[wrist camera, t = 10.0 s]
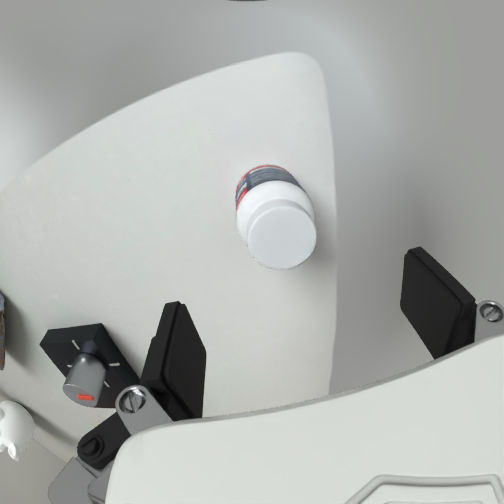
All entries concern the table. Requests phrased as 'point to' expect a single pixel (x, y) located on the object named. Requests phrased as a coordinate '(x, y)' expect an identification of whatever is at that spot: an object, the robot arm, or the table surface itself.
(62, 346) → the hob panel
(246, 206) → the pill bottle
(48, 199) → the table surface
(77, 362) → the knob
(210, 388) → the table surface
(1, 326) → the stone
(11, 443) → the piggy bank
